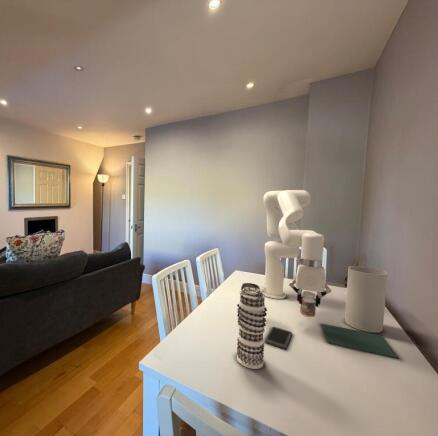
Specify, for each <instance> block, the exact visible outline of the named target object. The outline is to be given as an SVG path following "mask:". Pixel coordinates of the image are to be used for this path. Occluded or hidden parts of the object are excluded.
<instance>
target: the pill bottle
mask: <svg viewBox="0 0 438 436" xmlns="http://www.w3.org/2000/svg"><path fill="white" fill-rule="evenodd" d="M316 308H317V307H316V295H315V293H314V292H313V291H309V290H303V291H302V298H301V304H300V307H299V309H300V310H299V314H300V316H303V317H305V318H311V319H312V318H315V317H316Z"/></svg>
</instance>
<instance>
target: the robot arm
mask: <svg viewBox="0 0 438 436" xmlns="http://www.w3.org/2000/svg"><path fill="white" fill-rule="evenodd" d="M262 201H263V207H264V210H265V213H266V234H267V236H268V237H269V238H270V239H280V240H269V241H267V242H265V243H264V254H265V257H264V258H265V269H264V271H265V272H264V274H265V276H264V284H263V285H260V284H257V285H258V286H259V288H260V290H261V291H262V293H263V294H265V297H267V298H270V299H274V300H275V299H277V300H280V299H281V300H283V299H285V298H287V294H286V293H285V292H284V280H285V279H284V278H285V264H284V262H283V261H282V260H281V259H296V262H297V263H298V265H297V268H296V274H295V278H294V279H292V280H291V281H290V282H288V286H289V287H290V288H291V289H292V290H293V291H294V292H295V293H296V301H297V302H298V304H299V305H301V298H302V296H303V294H302V293H303V291H309V292H316V295H315V299H316V308H319V306H320V305H321V301H322V300H321V299H322V298H323V297H324V296H327V294H330V293H332V289H331V288H330V287H329V286H328V284H327V283H326V271H325V267H324V266H323V257H324V246H325V236H324V235H323V234H321V233H318V232H316V231H315V230H311V229H306V230H305V229H299V226H298V225H297V224H296V223H295V222H297V221H299V220H301V219H302V218H303V216H304V212H305V211H304V210H303V208H305V207H307V206H309V205H310V203H311V195H310V193H309V192H308V191H307V190H304V189H285V190H269V191H267V192H265V194H264V195H263V200H262ZM279 207H280V208H279ZM300 248H301V249H300ZM299 255H300V257H299Z"/></svg>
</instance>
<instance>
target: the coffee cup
mask: <svg viewBox="0 0 438 436" xmlns="http://www.w3.org/2000/svg"><path fill="white" fill-rule="evenodd" d="M258 285H259V284H256V283H252V282H244V283H242V284H241V287H240V291H241V290H242V289H244V288H245V287H254V288H257V289H259V290H260V288H259V286H258Z"/></svg>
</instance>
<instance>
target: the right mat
mask: <svg viewBox="0 0 438 436" xmlns="http://www.w3.org/2000/svg"><path fill="white" fill-rule="evenodd" d="M320 324H321V327H322V330H323V332H324V335H325V338H326V341H327V343H328V344H331V345H335V346H338V347H343V348H349V349H353V350H357V351H361V352H366V353H371V354H376V355H379V356H384V357H389V358H393V359H397V360H399V359H400V357H399V356H398V354H397V353H396V352H395V350H394V349H393V348H392V347H391V346H390V344H389V343H388V342H387V340H385V338H384V337H383V336H382V335H381V334H377V333H371V332H366V331H362V330H358V329H351V328H346V327H340V326H336V325H330V324H325V323H320Z"/></svg>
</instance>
